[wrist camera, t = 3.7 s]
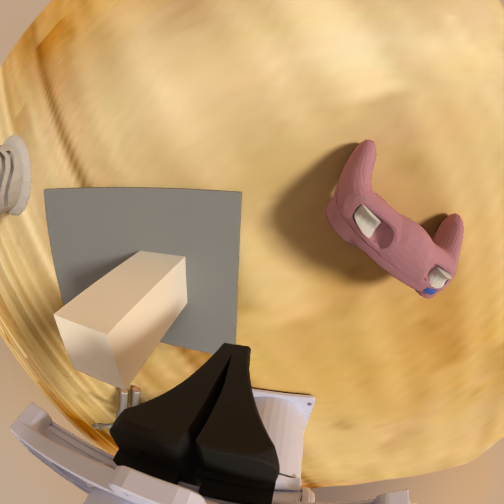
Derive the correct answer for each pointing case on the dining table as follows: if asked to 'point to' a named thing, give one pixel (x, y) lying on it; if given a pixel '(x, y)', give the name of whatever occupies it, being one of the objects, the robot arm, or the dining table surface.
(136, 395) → the grey toy figure
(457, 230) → the video game controller
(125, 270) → the cream block
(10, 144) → the french press
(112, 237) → the slate mat
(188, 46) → the dining table surface
